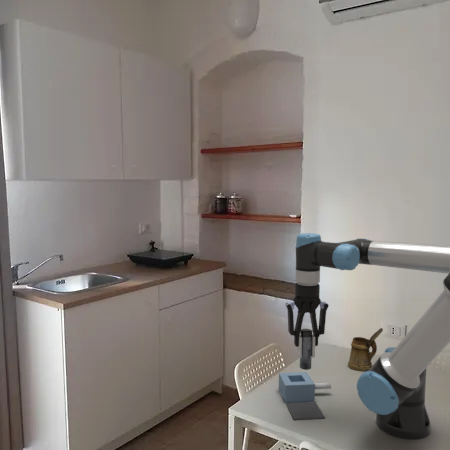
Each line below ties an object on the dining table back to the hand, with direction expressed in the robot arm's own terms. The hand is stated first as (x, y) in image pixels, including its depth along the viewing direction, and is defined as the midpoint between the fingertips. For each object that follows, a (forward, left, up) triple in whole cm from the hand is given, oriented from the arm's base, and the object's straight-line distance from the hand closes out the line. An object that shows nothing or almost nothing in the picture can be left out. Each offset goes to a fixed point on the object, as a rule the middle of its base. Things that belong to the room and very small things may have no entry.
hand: (305, 355), depth 142 cm
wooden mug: (+31, -33, -18) cm, 49 cm away
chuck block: (+11, -4, -18) cm, 22 cm away
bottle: (0, 0, -4) cm, 4 cm away
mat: (0, 0, -18) cm, 18 cm away
